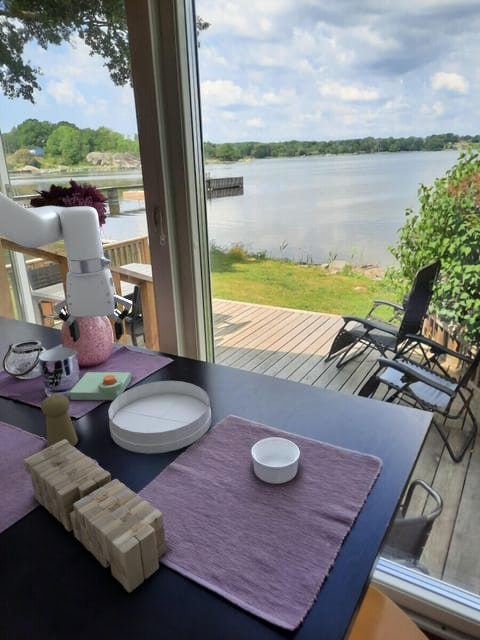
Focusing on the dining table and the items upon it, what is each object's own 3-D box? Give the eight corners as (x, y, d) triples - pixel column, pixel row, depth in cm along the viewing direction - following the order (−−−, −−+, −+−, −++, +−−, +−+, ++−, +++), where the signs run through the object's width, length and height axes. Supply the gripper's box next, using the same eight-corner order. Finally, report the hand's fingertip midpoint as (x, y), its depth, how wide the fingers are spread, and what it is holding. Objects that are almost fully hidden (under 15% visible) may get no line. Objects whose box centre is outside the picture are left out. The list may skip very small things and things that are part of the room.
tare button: (102, 385, 108) (101, 380, 107) (106, 380, 110) (105, 374, 110) (113, 385, 107) (112, 380, 107) (117, 380, 110) (116, 374, 110)
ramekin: (244, 462, 84) (244, 443, 83) (286, 451, 87) (286, 432, 86) (263, 492, 77) (263, 472, 75) (308, 479, 80) (308, 459, 78)
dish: (144, 392, 111) (142, 375, 109) (226, 406, 104) (225, 387, 102) (88, 443, 92) (85, 423, 90) (184, 464, 84) (182, 442, 83)
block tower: (173, 562, 65) (72, 472, 83) (170, 518, 62) (66, 435, 80) (128, 601, 59) (31, 495, 77) (122, 554, 56) (22, 455, 74)
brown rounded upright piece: (84, 440, 93) (76, 394, 89) (60, 456, 88) (50, 408, 84) (65, 432, 96) (56, 387, 92) (41, 447, 91) (31, 401, 87)
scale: (70, 401, 108) (67, 387, 107) (88, 380, 119) (85, 366, 117) (119, 402, 107) (117, 387, 106) (132, 380, 118) (131, 366, 117)
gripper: (130, 260, 99) (138, 331, 105) (52, 263, 99) (65, 334, 104) (123, 267, 92) (133, 343, 98) (39, 271, 92) (54, 346, 97)
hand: (98, 338), depth 101 cm, fingers open, 9 cm apart
